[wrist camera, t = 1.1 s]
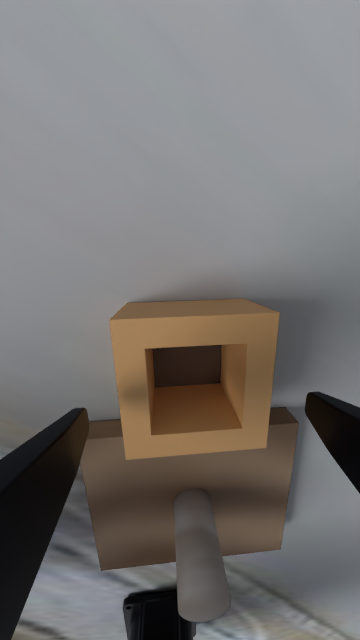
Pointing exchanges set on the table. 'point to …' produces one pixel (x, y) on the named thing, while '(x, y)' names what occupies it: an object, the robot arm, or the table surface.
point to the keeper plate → (162, 477)
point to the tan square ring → (195, 400)
